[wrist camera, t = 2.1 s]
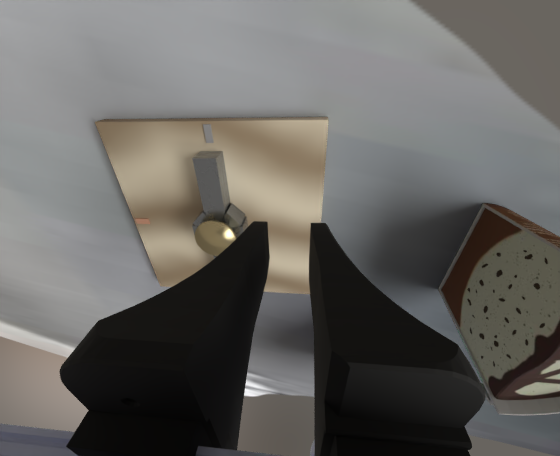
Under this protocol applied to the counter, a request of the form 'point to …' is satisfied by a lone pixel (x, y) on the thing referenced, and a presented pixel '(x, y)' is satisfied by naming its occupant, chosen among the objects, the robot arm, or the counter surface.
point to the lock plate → (241, 184)
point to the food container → (509, 309)
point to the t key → (216, 192)
